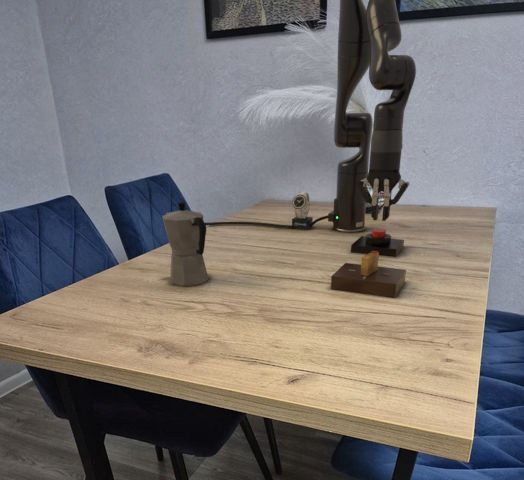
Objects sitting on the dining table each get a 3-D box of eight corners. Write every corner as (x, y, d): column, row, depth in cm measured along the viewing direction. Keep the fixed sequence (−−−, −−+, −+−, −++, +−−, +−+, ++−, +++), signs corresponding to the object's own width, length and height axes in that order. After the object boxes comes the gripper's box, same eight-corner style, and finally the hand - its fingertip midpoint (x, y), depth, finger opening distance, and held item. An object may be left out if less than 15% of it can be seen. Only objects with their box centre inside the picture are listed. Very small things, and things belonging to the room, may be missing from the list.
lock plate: (330, 288, 104) (331, 275, 102) (344, 275, 112) (345, 262, 110) (394, 297, 98) (396, 283, 97) (404, 282, 106) (406, 268, 104)
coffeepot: (158, 277, 114) (147, 201, 106) (191, 269, 119) (184, 195, 111) (192, 294, 103) (183, 210, 95) (227, 284, 108) (221, 204, 100)
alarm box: (350, 252, 127) (351, 238, 125) (360, 243, 135) (361, 229, 133) (395, 257, 123) (397, 242, 121) (403, 247, 130) (405, 233, 129)
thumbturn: (367, 276, 101) (368, 257, 99) (360, 274, 102) (361, 255, 100) (377, 270, 105) (379, 251, 103) (371, 268, 106) (372, 250, 104)
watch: (289, 230, 152) (289, 194, 147) (298, 224, 158) (298, 190, 153) (306, 231, 150) (306, 195, 145) (314, 225, 156) (315, 191, 151)
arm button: (370, 237, 126) (370, 231, 126) (373, 234, 129) (374, 228, 128) (383, 239, 125) (384, 232, 124) (386, 235, 128) (387, 229, 127)
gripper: (354, 150, 117) (350, 221, 125) (411, 151, 111) (403, 225, 119) (362, 147, 123) (358, 215, 131) (417, 148, 117) (409, 218, 125)
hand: (379, 219), depth 125 cm, fingers closed
